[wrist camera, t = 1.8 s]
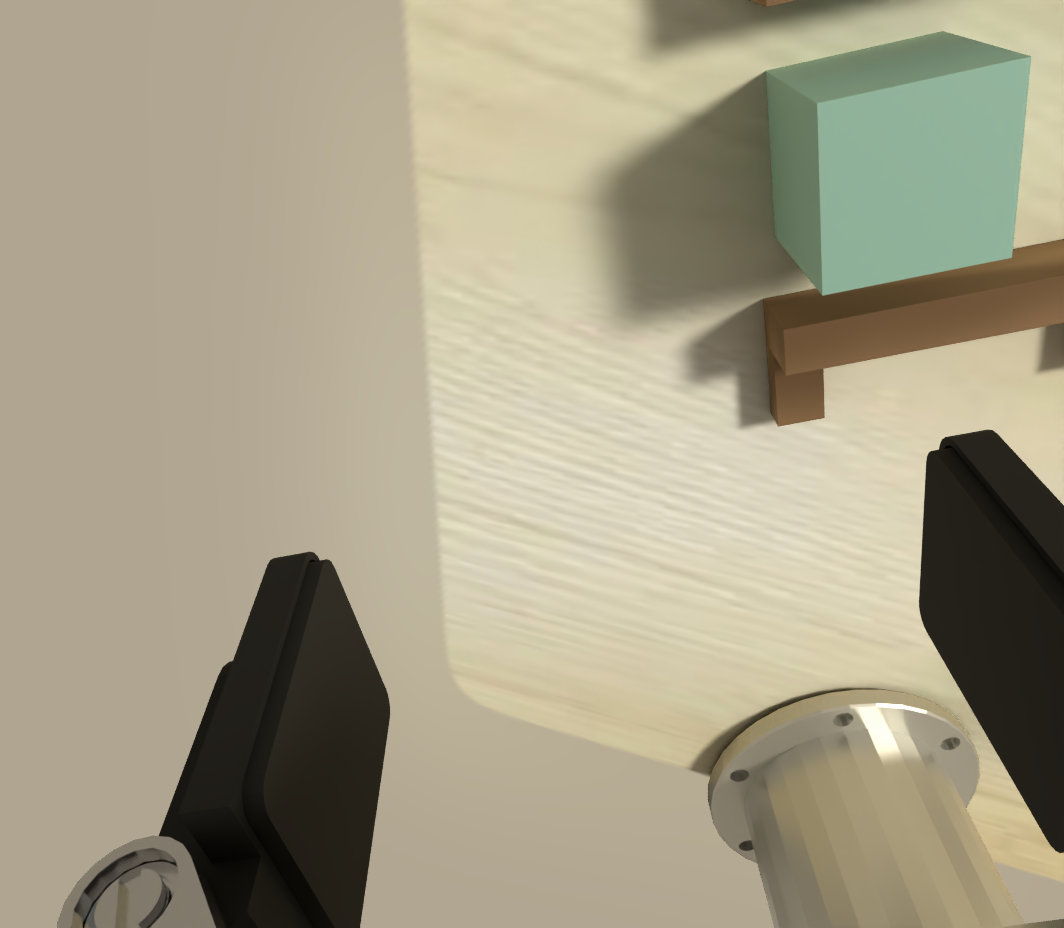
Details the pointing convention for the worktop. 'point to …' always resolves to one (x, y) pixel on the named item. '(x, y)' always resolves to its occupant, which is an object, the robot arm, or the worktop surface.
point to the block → (897, 159)
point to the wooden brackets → (902, 318)
